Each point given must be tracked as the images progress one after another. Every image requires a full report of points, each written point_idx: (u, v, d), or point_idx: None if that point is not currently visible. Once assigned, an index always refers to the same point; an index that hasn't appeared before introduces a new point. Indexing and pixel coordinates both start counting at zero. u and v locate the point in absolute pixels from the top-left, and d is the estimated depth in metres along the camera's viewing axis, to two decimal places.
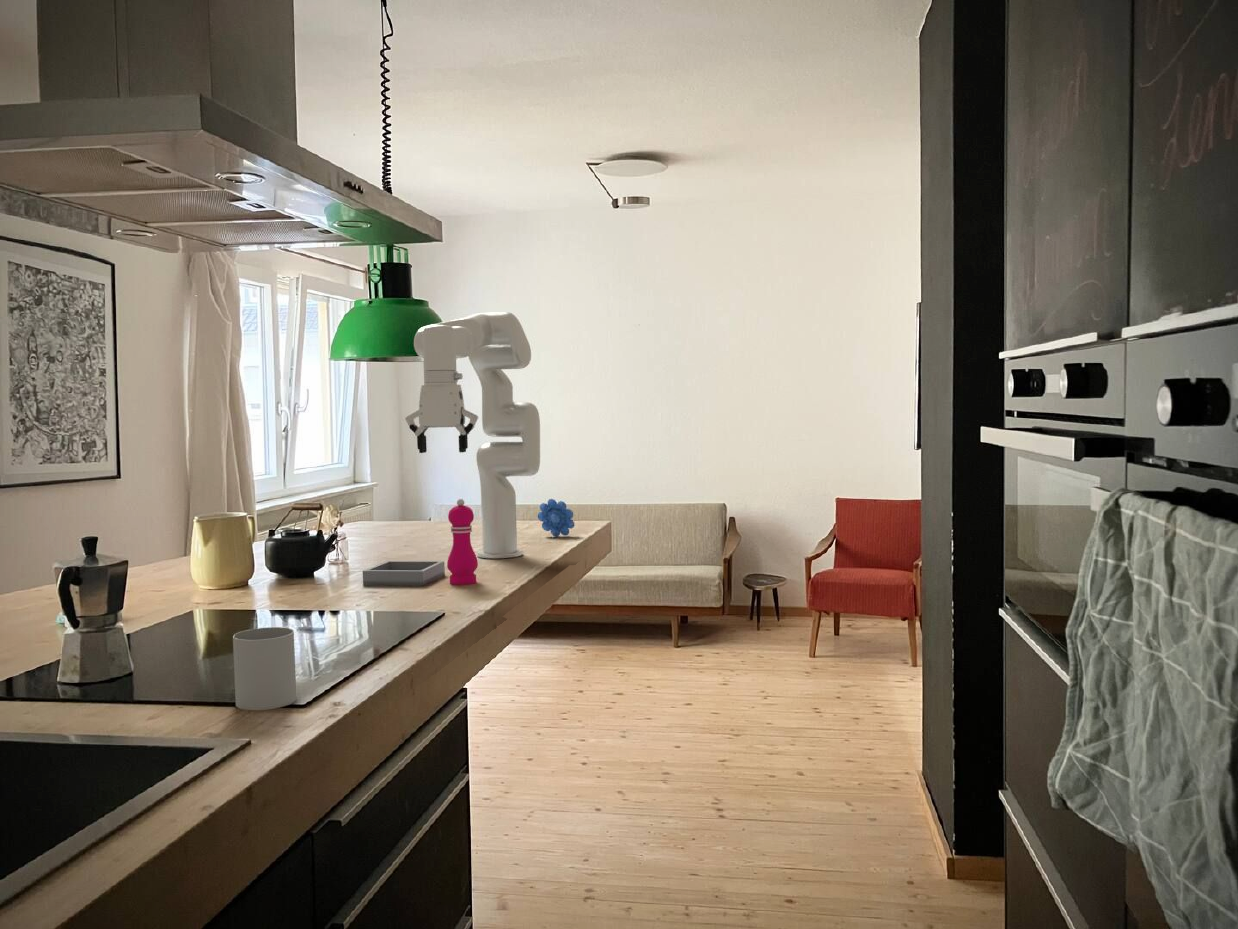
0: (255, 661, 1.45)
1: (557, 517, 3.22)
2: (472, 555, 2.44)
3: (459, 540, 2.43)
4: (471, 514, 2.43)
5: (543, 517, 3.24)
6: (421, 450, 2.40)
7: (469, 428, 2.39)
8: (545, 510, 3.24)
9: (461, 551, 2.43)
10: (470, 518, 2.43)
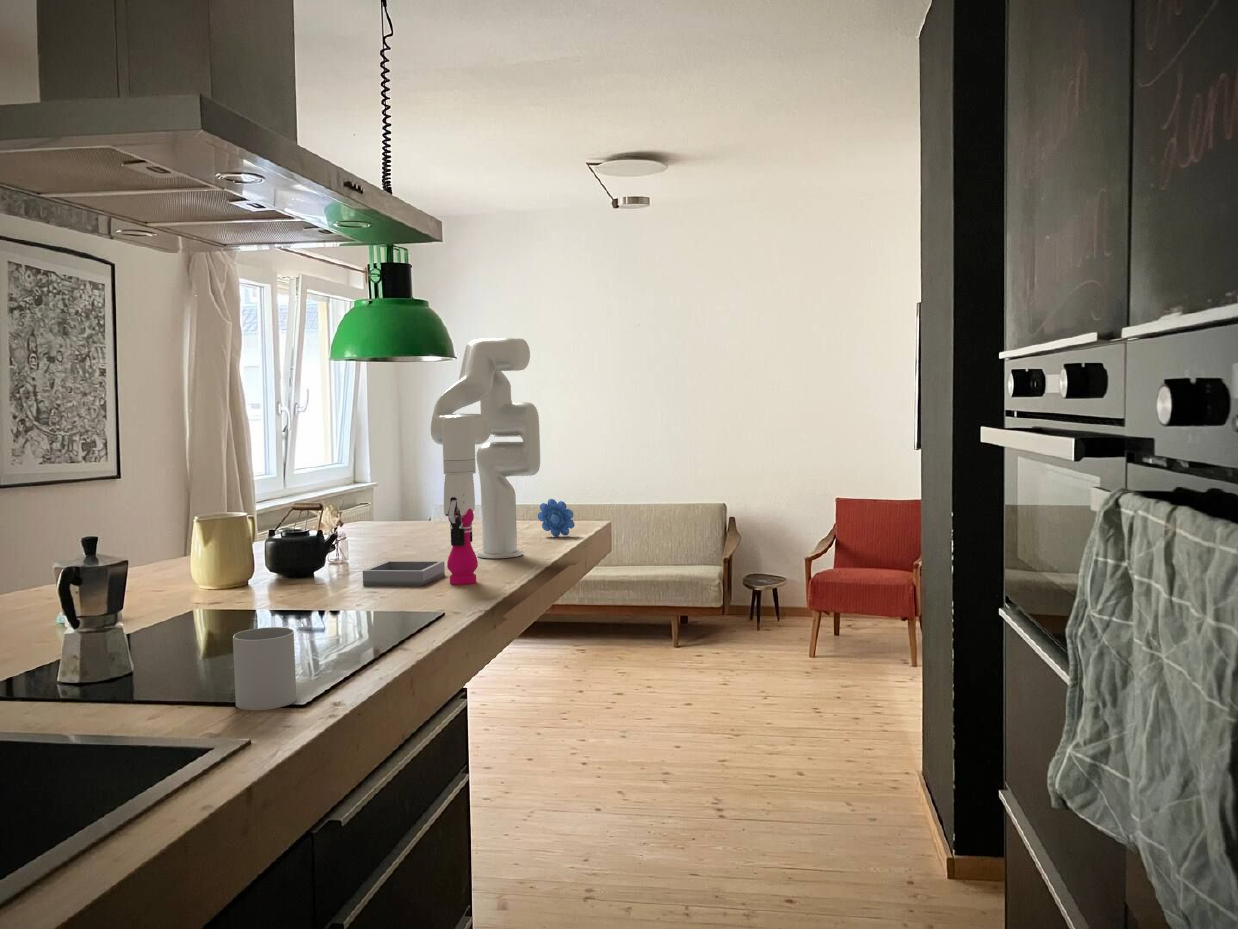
0: (255, 661, 1.45)
1: (557, 517, 3.22)
2: (472, 555, 2.44)
3: None
4: (471, 514, 2.43)
5: (543, 517, 3.24)
6: None
7: None
8: (545, 510, 3.24)
9: (461, 551, 2.43)
10: (470, 518, 2.43)
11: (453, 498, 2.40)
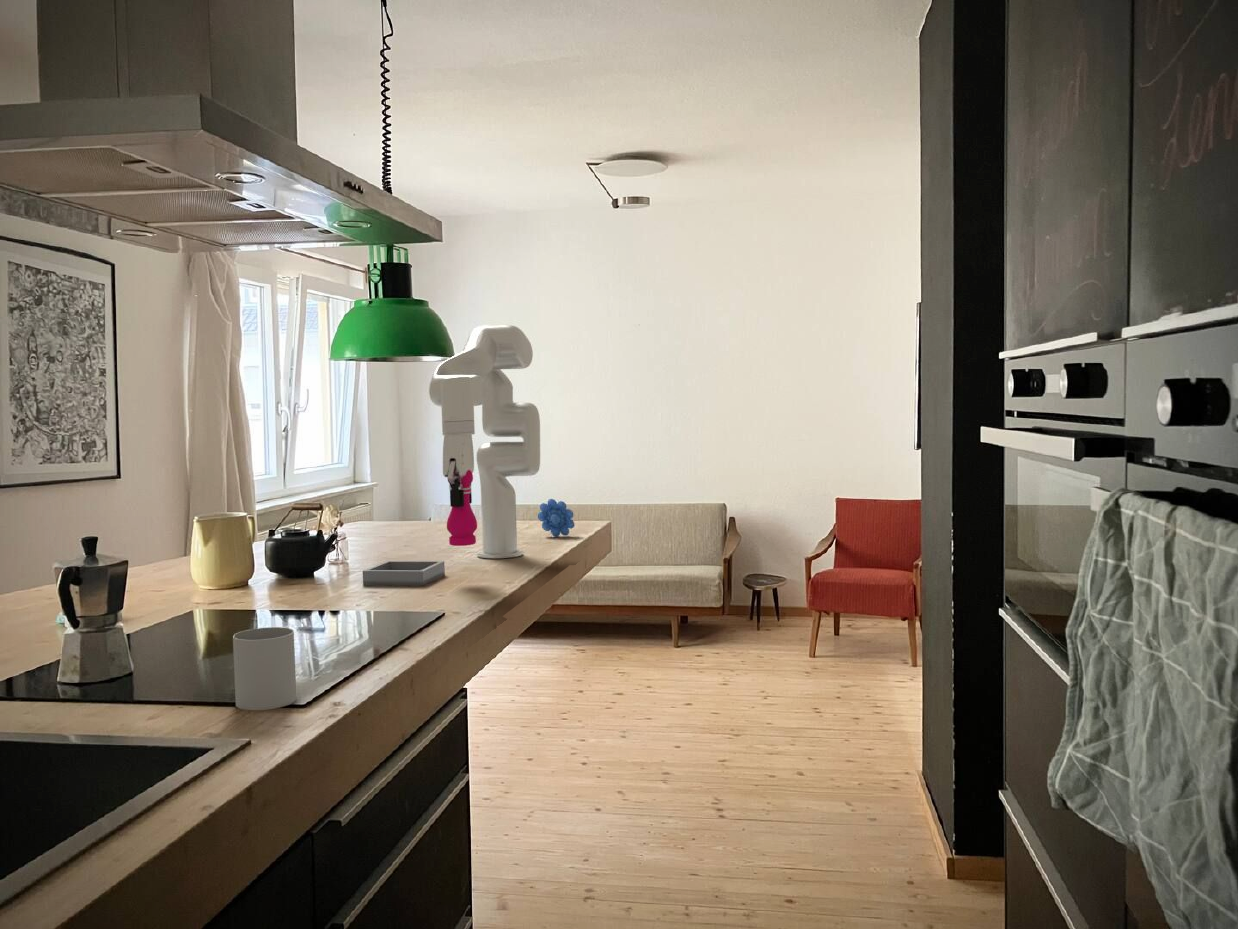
0: (255, 661, 1.45)
1: (557, 517, 3.22)
2: (472, 516, 2.44)
3: None
4: (470, 475, 2.43)
5: (543, 517, 3.24)
6: None
7: None
8: (545, 510, 3.24)
9: (461, 512, 2.43)
10: (469, 479, 2.43)
11: (452, 459, 2.40)
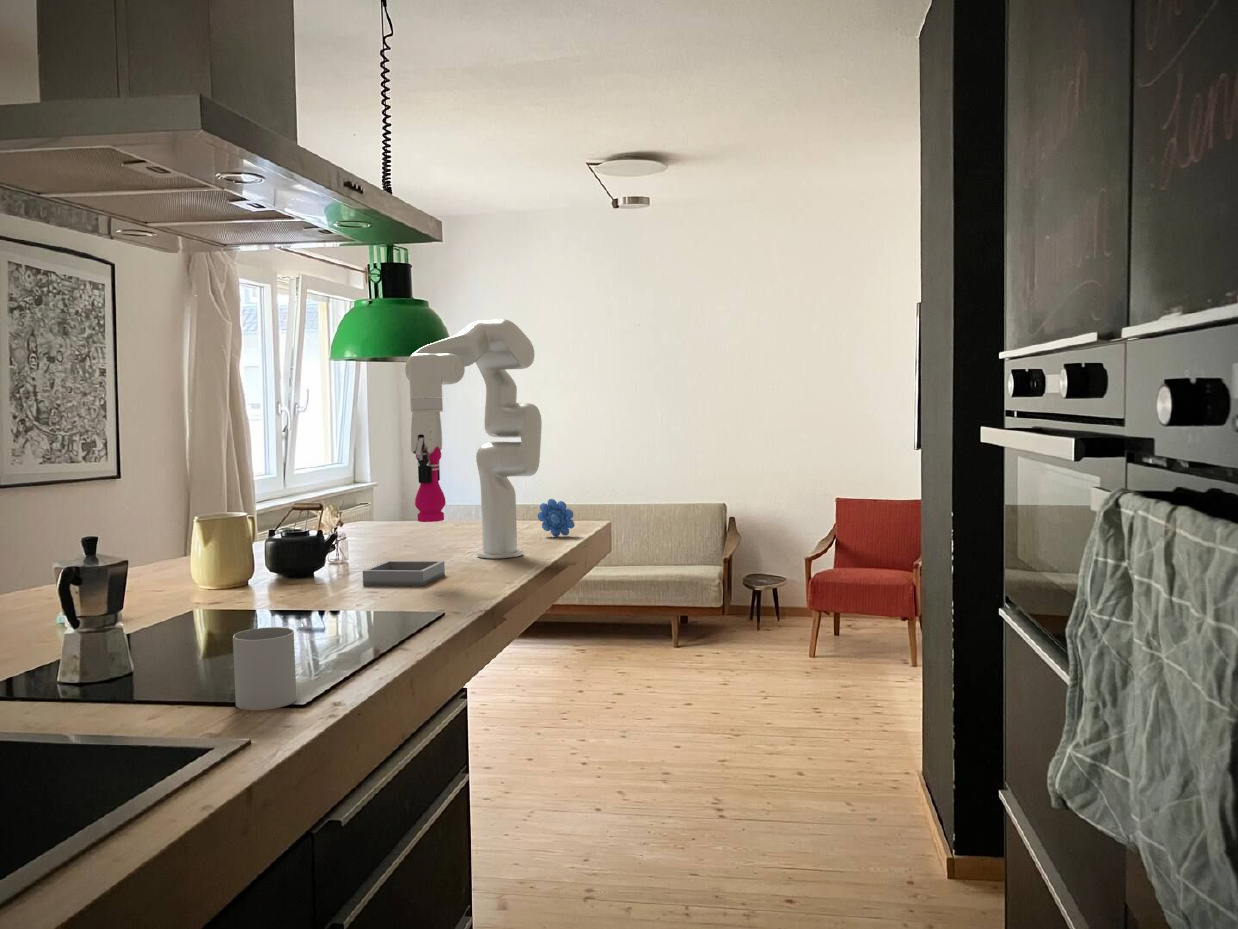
0: (255, 661, 1.45)
1: (557, 517, 3.22)
2: (440, 492, 2.46)
3: None
4: (438, 452, 2.45)
5: (543, 517, 3.24)
6: None
7: None
8: (545, 510, 3.24)
9: (429, 488, 2.45)
10: (437, 456, 2.45)
11: (420, 435, 2.42)
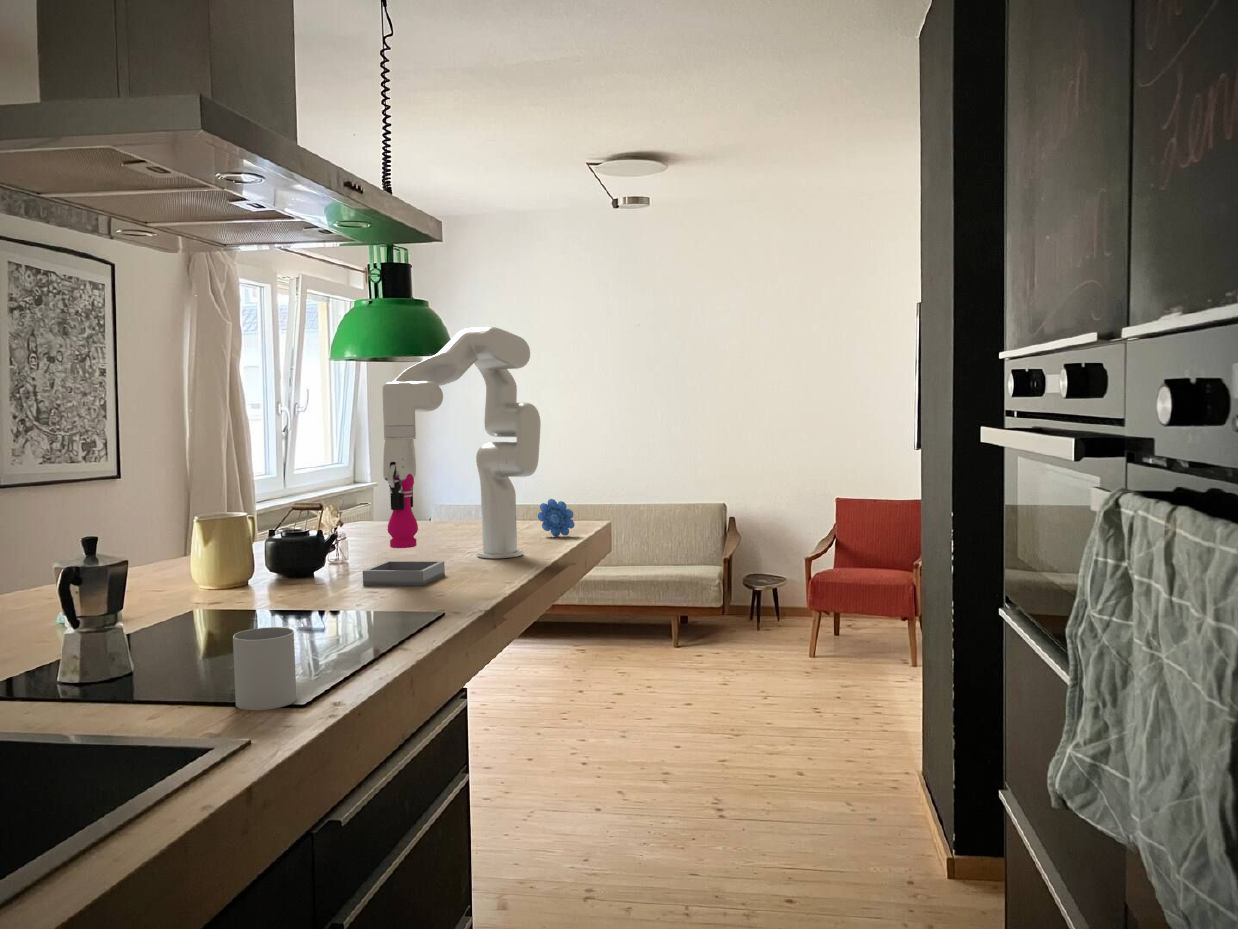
0: (255, 661, 1.45)
1: (557, 517, 3.22)
2: (412, 519, 2.48)
3: None
4: (411, 479, 2.48)
5: (543, 517, 3.24)
6: None
7: None
8: (545, 510, 3.24)
9: (401, 515, 2.47)
10: (410, 483, 2.48)
11: (392, 463, 2.45)
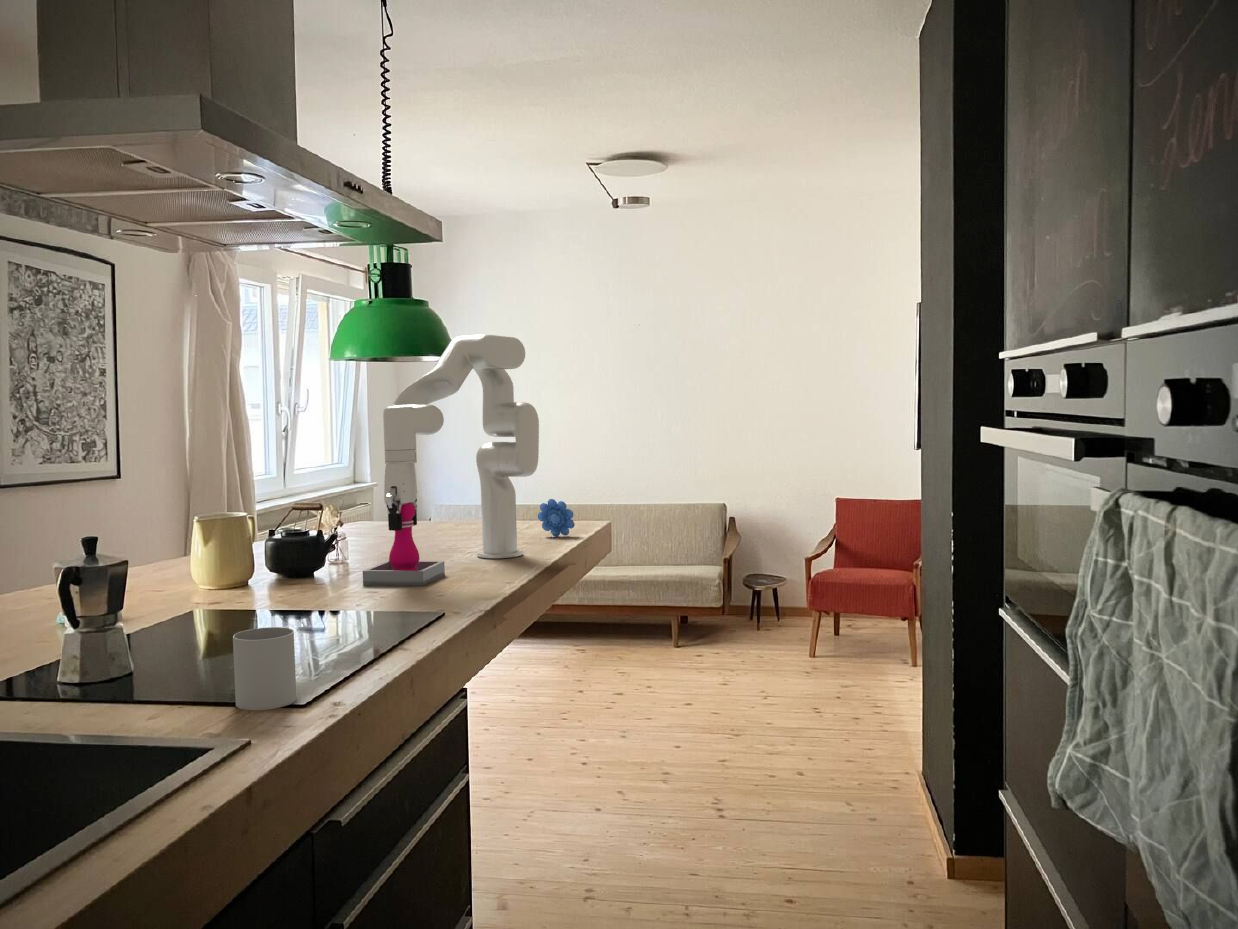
0: (255, 661, 1.45)
1: (557, 517, 3.22)
2: (413, 549, 2.49)
3: (400, 534, 2.48)
4: (412, 509, 2.48)
5: (543, 517, 3.24)
6: None
7: (415, 502, 2.56)
8: (545, 510, 3.24)
9: (402, 545, 2.47)
10: (411, 513, 2.48)
11: None
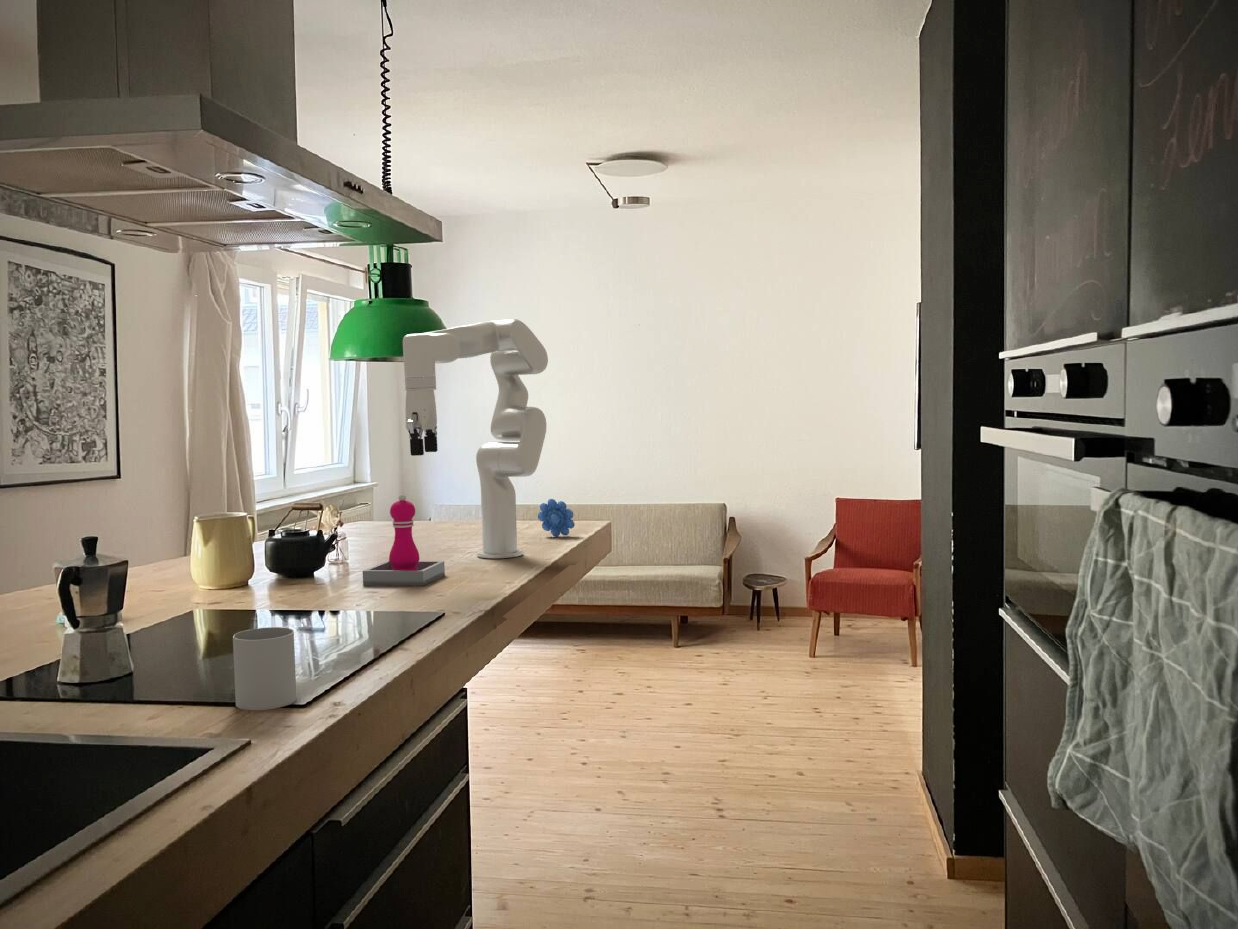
0: (255, 661, 1.45)
1: (557, 517, 3.22)
2: (413, 549, 2.49)
3: (400, 534, 2.48)
4: (412, 509, 2.48)
5: (543, 517, 3.24)
6: None
7: (435, 429, 2.62)
8: (545, 510, 3.24)
9: (402, 545, 2.47)
10: (411, 513, 2.48)
11: None
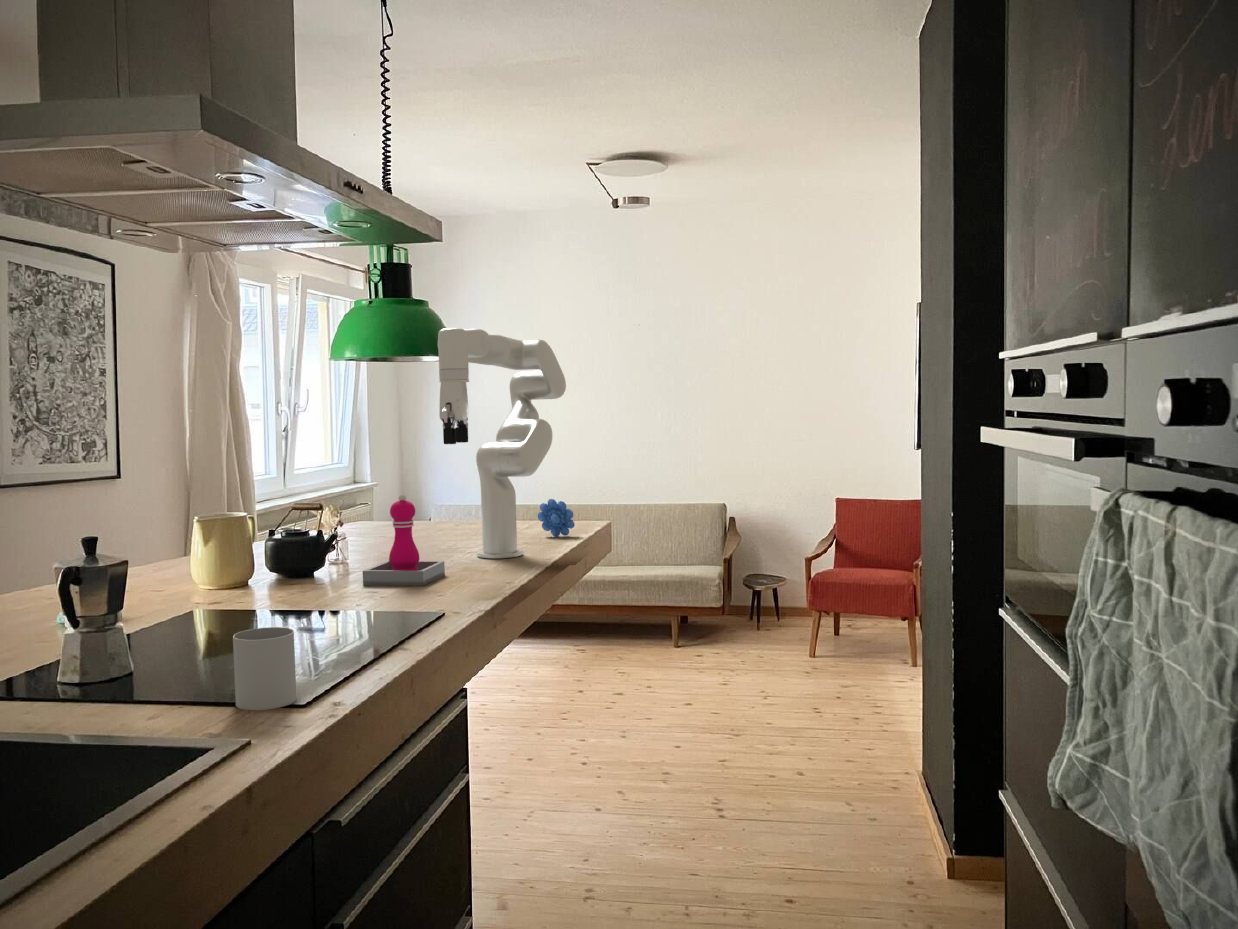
0: (255, 661, 1.45)
1: (557, 517, 3.22)
2: (413, 549, 2.49)
3: (400, 534, 2.48)
4: (412, 509, 2.48)
5: (543, 517, 3.24)
6: None
7: None
8: (545, 510, 3.24)
9: (402, 545, 2.47)
10: (411, 513, 2.48)
11: None
